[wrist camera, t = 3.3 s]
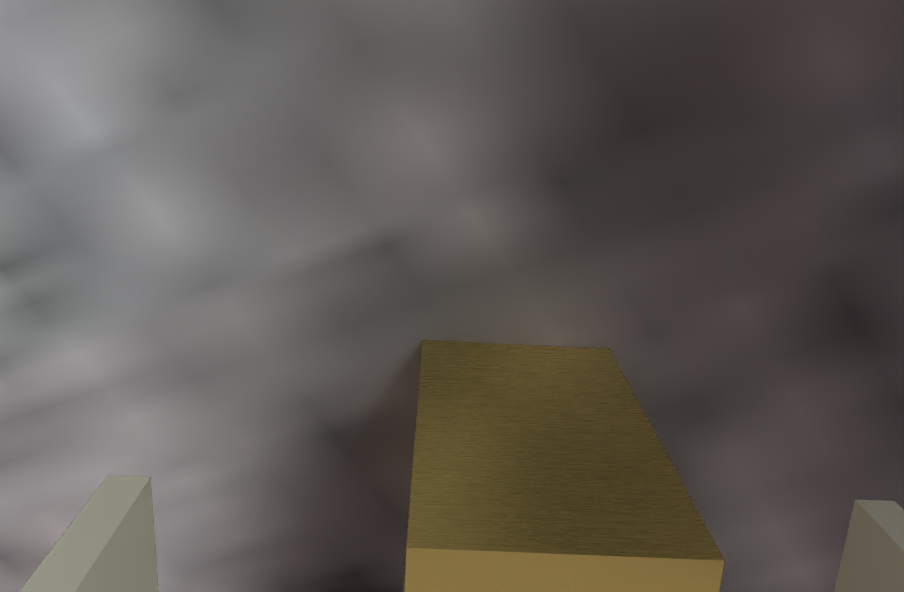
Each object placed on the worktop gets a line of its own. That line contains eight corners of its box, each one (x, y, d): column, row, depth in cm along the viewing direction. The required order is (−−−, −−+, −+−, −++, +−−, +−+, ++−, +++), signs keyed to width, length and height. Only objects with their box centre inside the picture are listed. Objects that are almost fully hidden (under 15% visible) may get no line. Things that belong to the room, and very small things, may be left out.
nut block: (420, 340, 18) (403, 547, 11) (611, 349, 18) (728, 560, 11) (412, 504, 20) (392, 793, 12) (591, 511, 20) (683, 802, 12)
